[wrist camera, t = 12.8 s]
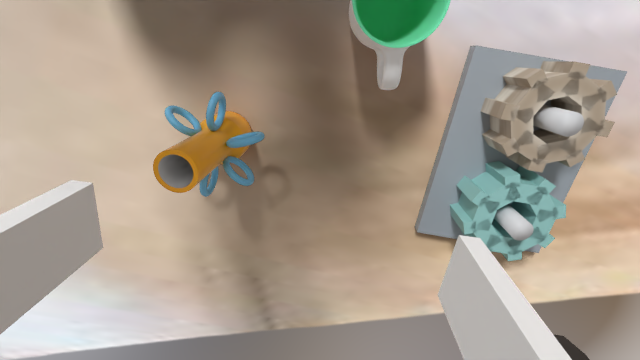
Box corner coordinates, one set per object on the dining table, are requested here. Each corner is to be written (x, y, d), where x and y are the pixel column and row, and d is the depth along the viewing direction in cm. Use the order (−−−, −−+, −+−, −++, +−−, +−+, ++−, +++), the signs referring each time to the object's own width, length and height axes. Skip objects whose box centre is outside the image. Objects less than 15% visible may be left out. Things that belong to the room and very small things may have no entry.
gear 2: (466, 155, 39) (483, 168, 35) (553, 170, 39) (581, 185, 35) (440, 231, 43) (452, 251, 39) (519, 244, 43) (540, 266, 39)
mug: (418, 82, 38) (445, 91, 28) (351, 87, 39) (355, 97, 29) (422, -34, 34) (455, -71, 24) (347, -27, 34) (349, -59, 25)
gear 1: (478, 76, 36) (498, 78, 31) (582, 51, 34) (620, 51, 30) (483, 165, 40) (503, 179, 35) (578, 147, 38) (611, 159, 34)
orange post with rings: (291, 139, 41) (267, 180, 28) (240, 189, 45) (195, 249, 31) (219, 68, 39) (152, 74, 25) (170, 127, 42) (86, 162, 28)
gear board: (470, 45, 36) (507, 42, 28) (616, 71, 36) (693, 74, 28) (414, 226, 45) (430, 262, 37) (532, 246, 45) (573, 287, 37)
